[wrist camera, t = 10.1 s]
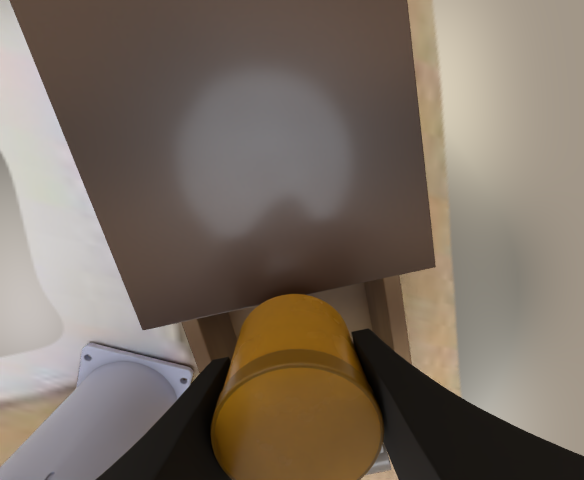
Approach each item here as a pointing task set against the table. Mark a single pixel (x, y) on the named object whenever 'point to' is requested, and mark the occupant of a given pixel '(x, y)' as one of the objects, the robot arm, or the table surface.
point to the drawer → (346, 301)
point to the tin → (296, 398)
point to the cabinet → (240, 143)
